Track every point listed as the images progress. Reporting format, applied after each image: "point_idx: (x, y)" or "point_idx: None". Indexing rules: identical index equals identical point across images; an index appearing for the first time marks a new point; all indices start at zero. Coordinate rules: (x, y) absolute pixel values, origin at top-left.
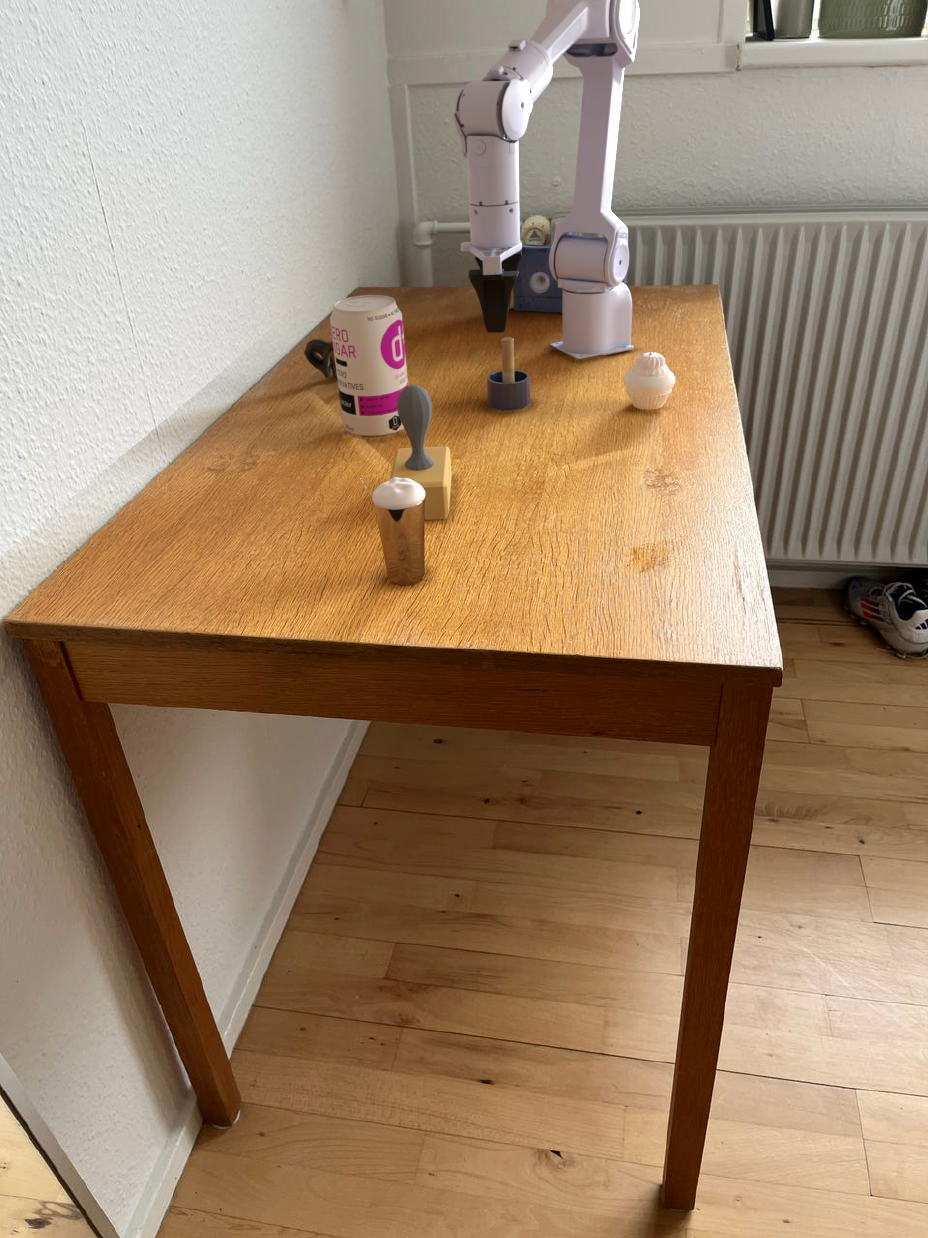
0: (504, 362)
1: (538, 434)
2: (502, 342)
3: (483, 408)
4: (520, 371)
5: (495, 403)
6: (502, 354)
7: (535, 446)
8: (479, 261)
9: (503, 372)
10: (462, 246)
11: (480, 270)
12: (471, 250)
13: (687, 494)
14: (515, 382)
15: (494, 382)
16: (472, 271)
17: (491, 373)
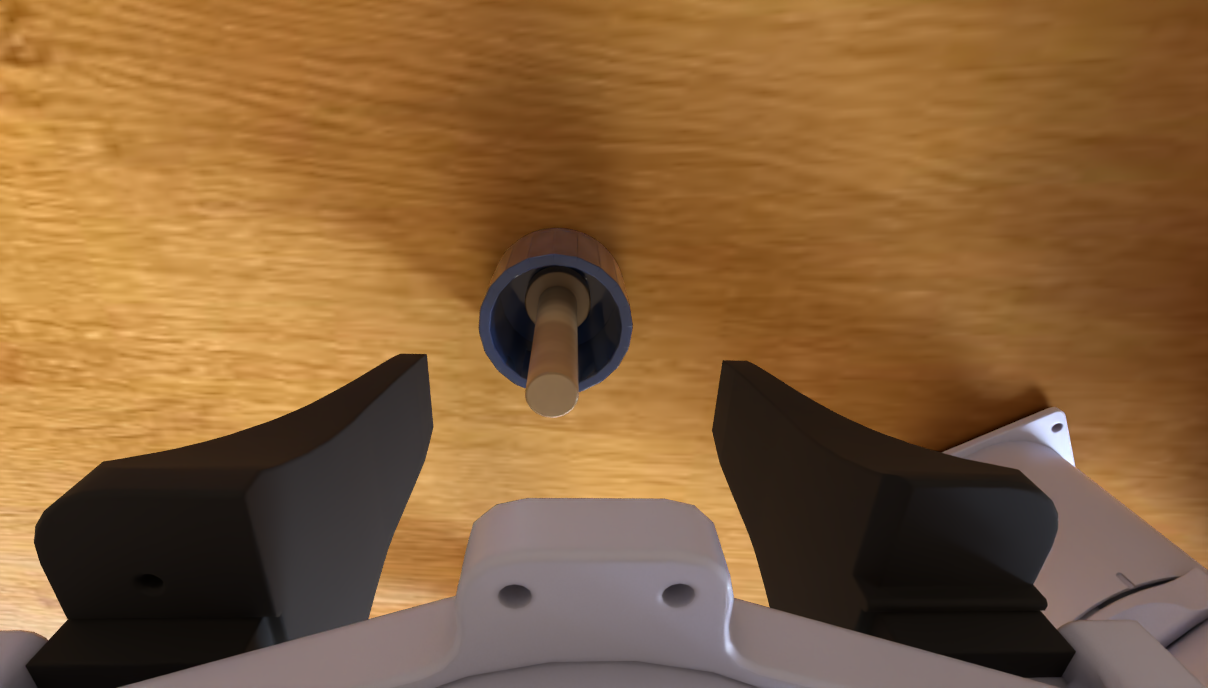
0: (533, 342)
1: (337, 370)
2: (536, 372)
3: (544, 213)
4: (606, 365)
5: (499, 262)
6: (538, 348)
7: (250, 363)
8: (862, 490)
9: (542, 321)
10: (466, 567)
11: (219, 579)
12: (411, 628)
13: (57, 624)
14: (495, 351)
15: (494, 284)
16: (167, 520)
17: (595, 270)
